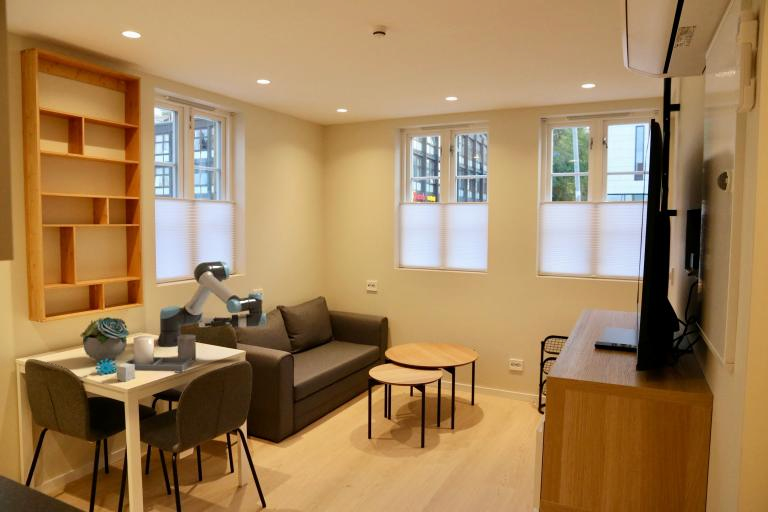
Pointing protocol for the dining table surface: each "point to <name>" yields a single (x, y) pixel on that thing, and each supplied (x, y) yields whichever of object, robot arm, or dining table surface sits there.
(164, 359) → the tray
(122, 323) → the flower arrangement
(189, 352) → the pillar candle
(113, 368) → the gear
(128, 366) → the skincare box
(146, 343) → the white candle
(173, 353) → the dining table surface
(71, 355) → the dining table surface
